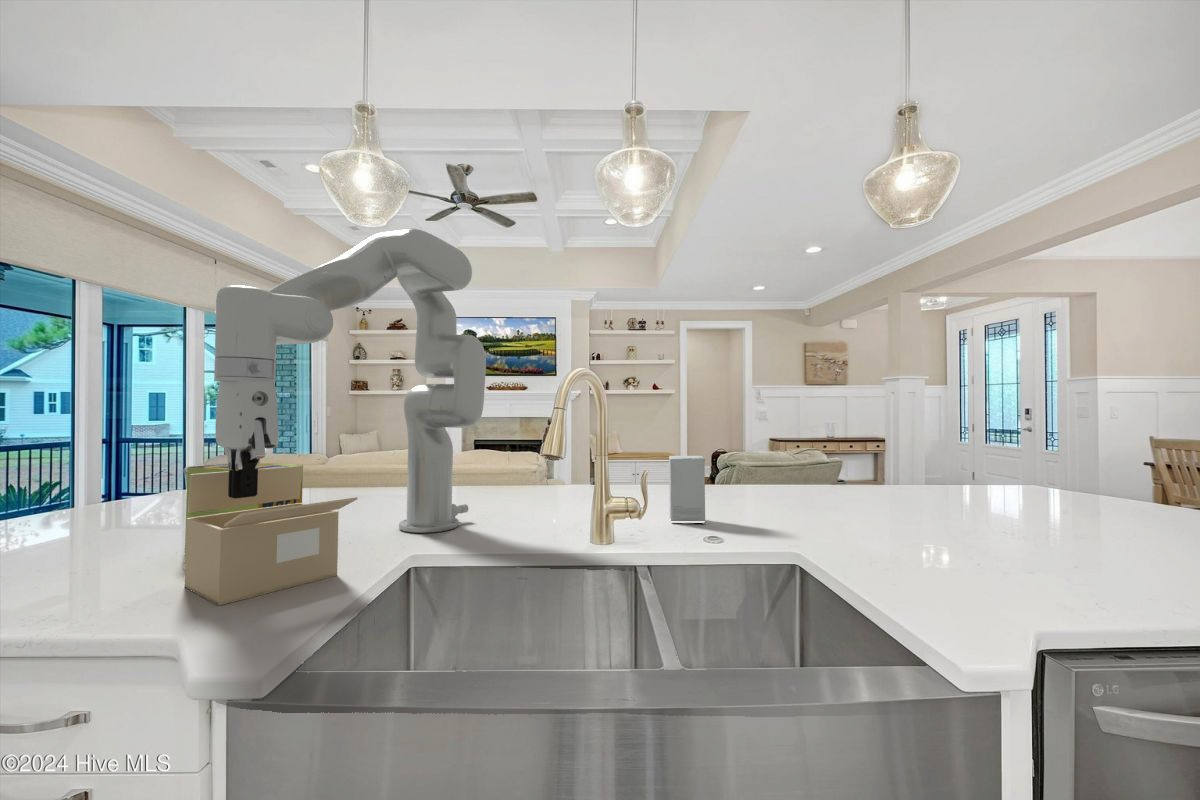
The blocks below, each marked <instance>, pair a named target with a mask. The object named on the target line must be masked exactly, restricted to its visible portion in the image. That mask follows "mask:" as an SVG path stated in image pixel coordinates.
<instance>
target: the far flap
mask: <svg viewBox="0 0 1200 800" xmlns="http://www.w3.org/2000/svg"><path fill="white" fill-rule="evenodd" d="M301 475H302V466H290V467H277V468H264V469H258V489H257V495H256V496H253V497H245V498H236V499H235V498H231V497H229V496H228V484H229V471H226V472H213V473H201V474H190V488H189V503H188V513H191V512H198V511H206V510H214V509H222V508H230V507H237V506H245V505H253V504H261V503H269V502H277V501H284V500H292V499H300V489H301Z"/></svg>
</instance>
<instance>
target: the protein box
mask: <svg viewBox="0 0 1200 800" xmlns="http://www.w3.org/2000/svg"><path fill="white" fill-rule="evenodd" d="M290 466H302V475H301V489H300V499H292V500H284V501H277V502H269V503H261V504H253V505H245V506H237V507H230V508H222V509H214V510H206V511H198V512H191V513H188V503H189V488H190V474H201V473H213V472H226V471H229V469H228V462H226V463H219V464H218V463H217V464H216V463H215V464H208V465H207V464H206V465H195V466H194V465H193V466H188V467H187V471H186V472H187V474H186V476H187V478H186V500H185V501H186V503H185V504H186V506H185V507H186V508H185V519H186V518H192V517H199V516H206V515H214V514H221V513H229V512H236V511H244V510H251V509H258V508H266V507H273V506H281V505H288V504H296V503H303V478H304V477H303V476H304V473H303V472H304V464H296V463H277V462H276V463H274V462H273V463H272V462H270V463H269V462H260V464H259V469H264V468H277V467H290ZM184 533H185V536H184V537H185V539H184V553H185V552H186V530H185V532H184Z"/></svg>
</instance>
